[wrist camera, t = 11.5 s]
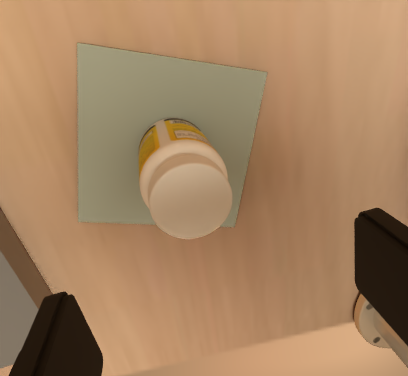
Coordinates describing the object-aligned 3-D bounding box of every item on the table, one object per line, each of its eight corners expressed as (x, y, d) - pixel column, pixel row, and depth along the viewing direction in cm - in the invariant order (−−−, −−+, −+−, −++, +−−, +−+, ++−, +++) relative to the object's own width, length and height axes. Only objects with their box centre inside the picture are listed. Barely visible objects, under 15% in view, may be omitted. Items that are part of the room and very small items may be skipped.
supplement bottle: (155, 191, 23) (163, 261, 16) (126, 132, 21) (120, 181, 14) (215, 166, 23) (252, 223, 16) (192, 105, 21) (223, 138, 14)
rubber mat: (265, 71, 22) (267, 72, 21) (233, 224, 26) (234, 227, 26) (78, 42, 19) (77, 42, 19) (79, 219, 24) (78, 221, 23)
